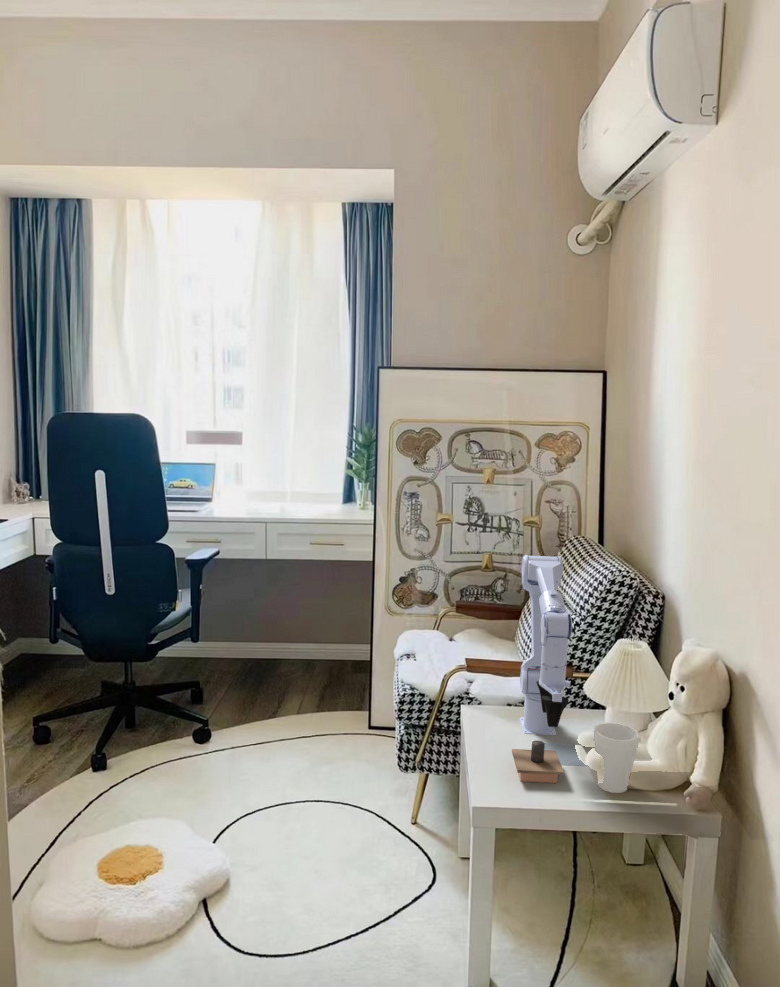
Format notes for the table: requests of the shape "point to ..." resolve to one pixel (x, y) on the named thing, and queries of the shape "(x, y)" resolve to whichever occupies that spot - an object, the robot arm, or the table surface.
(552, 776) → the open box
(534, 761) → the lid
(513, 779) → the table surface
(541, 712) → the robot arm
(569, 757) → the mat
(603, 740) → the foam cup
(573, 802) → the table surface
